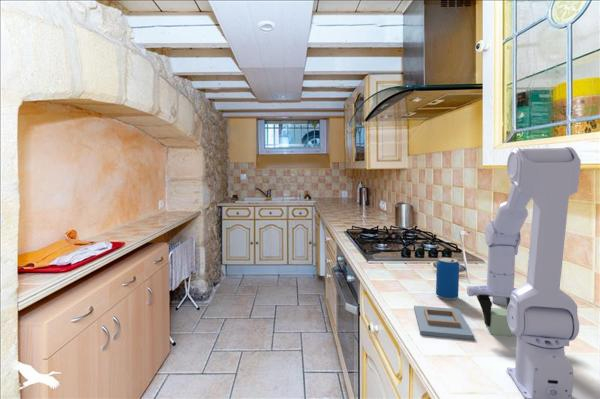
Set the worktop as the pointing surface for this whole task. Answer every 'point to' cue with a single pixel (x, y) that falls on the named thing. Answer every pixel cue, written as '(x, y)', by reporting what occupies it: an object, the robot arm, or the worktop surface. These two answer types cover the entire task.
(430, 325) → the board
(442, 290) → the beverage can
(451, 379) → the worktop surface
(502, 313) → the sage block
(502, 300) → the medicine box
